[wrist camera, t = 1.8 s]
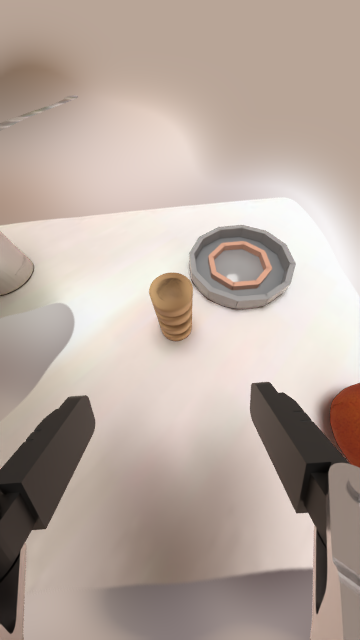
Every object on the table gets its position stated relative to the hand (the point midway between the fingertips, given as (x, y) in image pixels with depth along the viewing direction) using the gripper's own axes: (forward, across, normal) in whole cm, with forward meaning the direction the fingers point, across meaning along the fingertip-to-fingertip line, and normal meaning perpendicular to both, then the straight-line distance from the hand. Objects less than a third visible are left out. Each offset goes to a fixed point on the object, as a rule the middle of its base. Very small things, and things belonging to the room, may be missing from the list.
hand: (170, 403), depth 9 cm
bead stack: (+17, 0, +2) cm, 17 cm away
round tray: (+24, -11, -5) cm, 27 cm away
